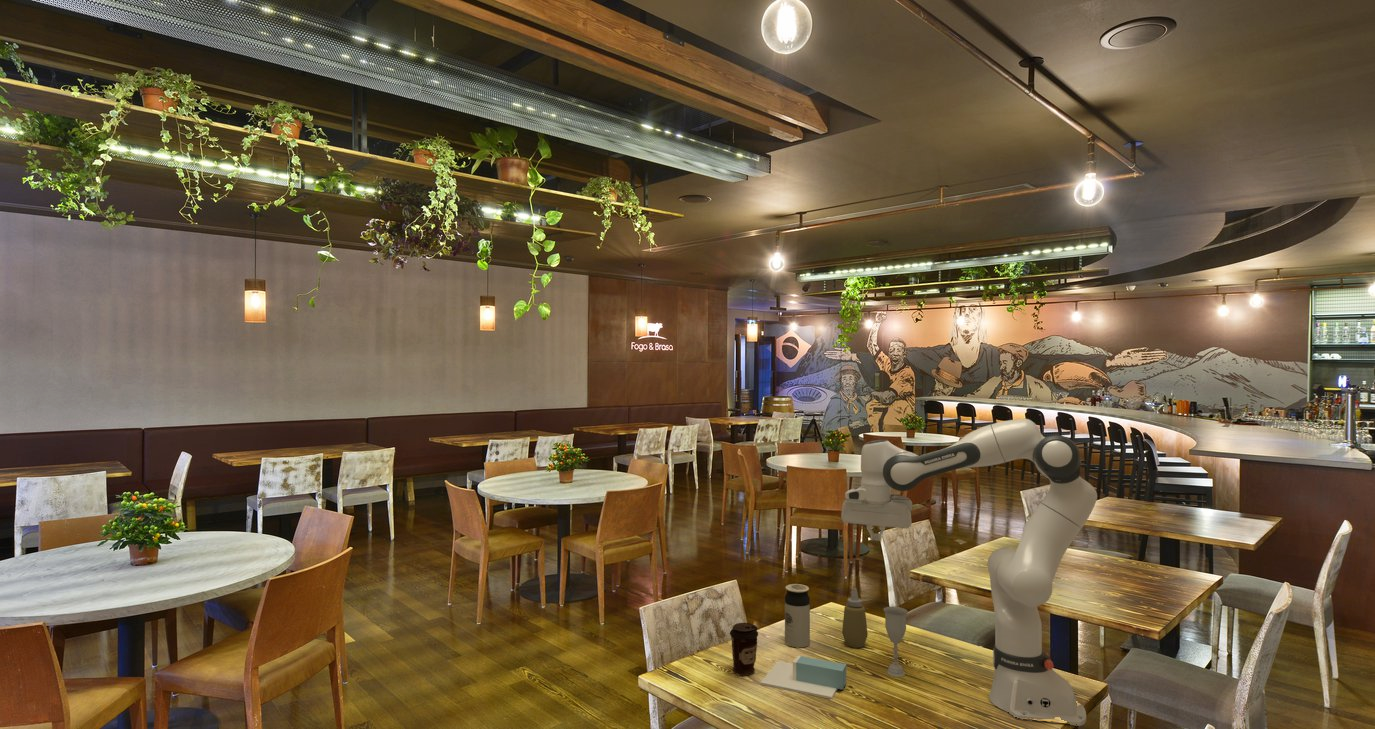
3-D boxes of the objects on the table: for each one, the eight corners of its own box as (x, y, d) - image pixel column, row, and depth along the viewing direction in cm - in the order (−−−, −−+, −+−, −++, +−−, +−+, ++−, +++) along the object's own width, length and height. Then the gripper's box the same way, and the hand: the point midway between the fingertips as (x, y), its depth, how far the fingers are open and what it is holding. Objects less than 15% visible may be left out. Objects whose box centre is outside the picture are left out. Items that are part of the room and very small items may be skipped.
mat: (844, 675, 195) (844, 673, 195) (831, 699, 180) (831, 697, 181) (778, 662, 204) (778, 660, 204) (760, 684, 189) (760, 682, 189)
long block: (846, 664, 189) (797, 655, 195) (842, 671, 185) (792, 661, 191) (846, 682, 189) (797, 672, 195) (842, 689, 185) (792, 679, 191)
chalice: (909, 679, 192) (909, 615, 193) (884, 677, 194) (884, 614, 194) (906, 668, 200) (906, 607, 200) (882, 666, 201) (882, 605, 201)
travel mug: (804, 637, 223) (804, 582, 224) (813, 647, 215) (813, 590, 216) (781, 639, 221) (781, 584, 222) (790, 649, 214) (790, 591, 214)
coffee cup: (765, 671, 198) (765, 626, 198) (747, 680, 191) (747, 634, 192) (741, 662, 203) (741, 619, 204) (723, 671, 197) (723, 626, 198)
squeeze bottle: (870, 649, 213) (870, 592, 214) (845, 649, 214) (844, 592, 214) (864, 639, 221) (864, 584, 222) (839, 639, 222) (839, 584, 222)
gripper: (913, 494, 201) (913, 541, 201) (844, 489, 210) (844, 534, 210) (910, 498, 196) (910, 546, 195) (839, 492, 204) (839, 538, 204)
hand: (875, 540), depth 203 cm, fingers closed
